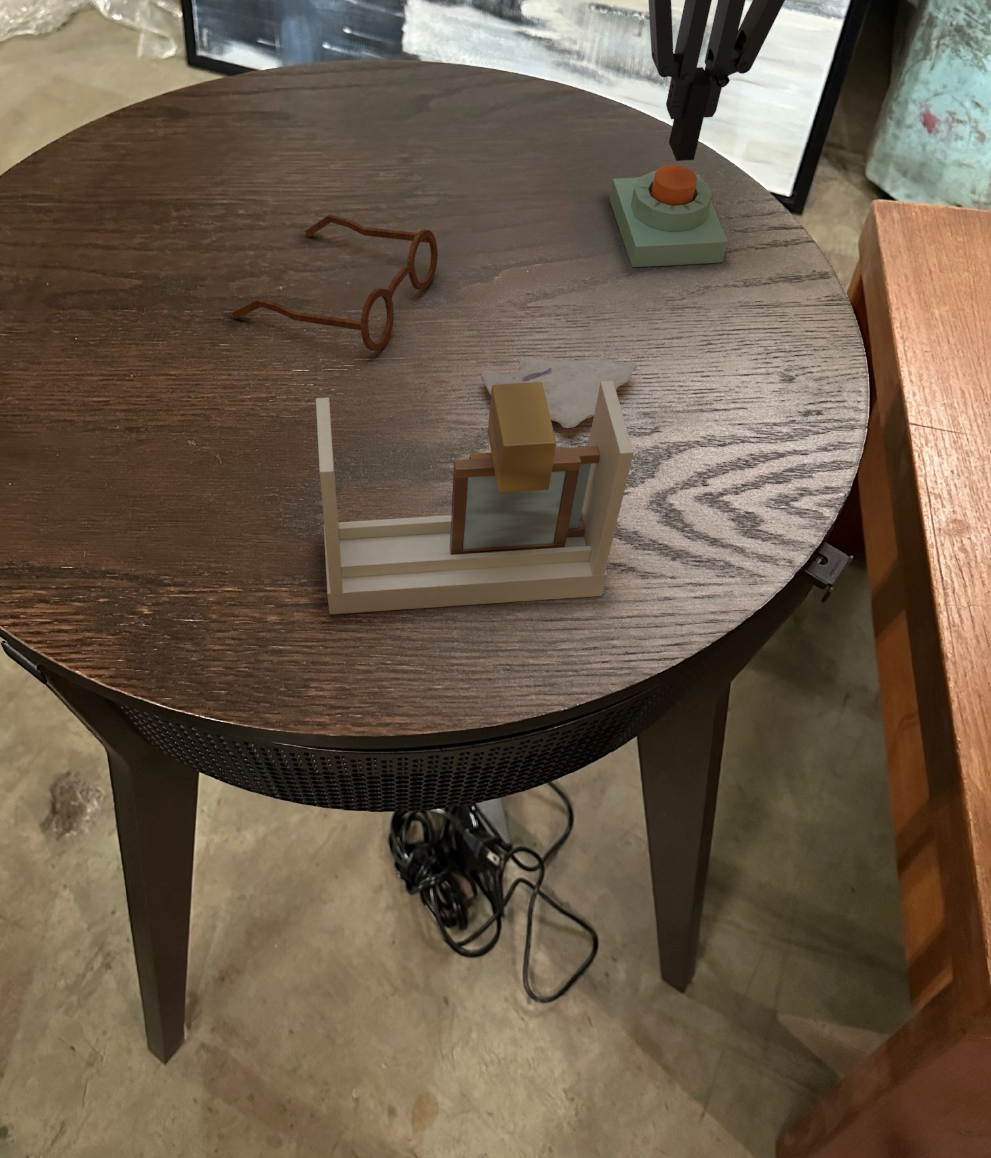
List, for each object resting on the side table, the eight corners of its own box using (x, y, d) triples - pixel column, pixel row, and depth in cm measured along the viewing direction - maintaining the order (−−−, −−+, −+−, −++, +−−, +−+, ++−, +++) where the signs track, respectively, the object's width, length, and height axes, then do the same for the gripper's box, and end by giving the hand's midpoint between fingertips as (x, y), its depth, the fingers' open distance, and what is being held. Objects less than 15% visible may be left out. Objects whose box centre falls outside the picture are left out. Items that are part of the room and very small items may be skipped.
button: (687, 181, 97) (691, 163, 95) (697, 206, 95) (701, 188, 93) (647, 183, 97) (650, 165, 95) (656, 208, 95) (660, 190, 93)
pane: (557, 518, 75) (581, 378, 65) (569, 577, 72) (597, 440, 62) (445, 525, 74) (452, 386, 64) (454, 584, 72) (462, 448, 61)
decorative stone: (475, 390, 88) (473, 364, 85) (610, 338, 89) (612, 311, 86) (519, 464, 83) (519, 439, 81) (661, 409, 84) (664, 382, 82)
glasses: (372, 365, 88) (370, 316, 84) (231, 318, 91) (223, 268, 87) (440, 271, 95) (442, 222, 91) (308, 231, 99) (303, 182, 95)
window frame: (585, 527, 78) (616, 379, 67) (602, 596, 74) (637, 452, 63) (325, 544, 77) (312, 397, 66) (329, 614, 73) (316, 472, 62)
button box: (694, 195, 102) (704, 155, 99) (722, 262, 96) (733, 223, 93) (609, 199, 101) (615, 160, 98) (631, 267, 95) (639, 228, 92)
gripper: (830, -196, 76) (745, 122, 95) (644, -190, 75) (596, 129, 94) (867, -152, 72) (770, 173, 91) (669, -145, 71) (613, 180, 90)
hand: (681, 150), depth 92 cm, fingers closed
